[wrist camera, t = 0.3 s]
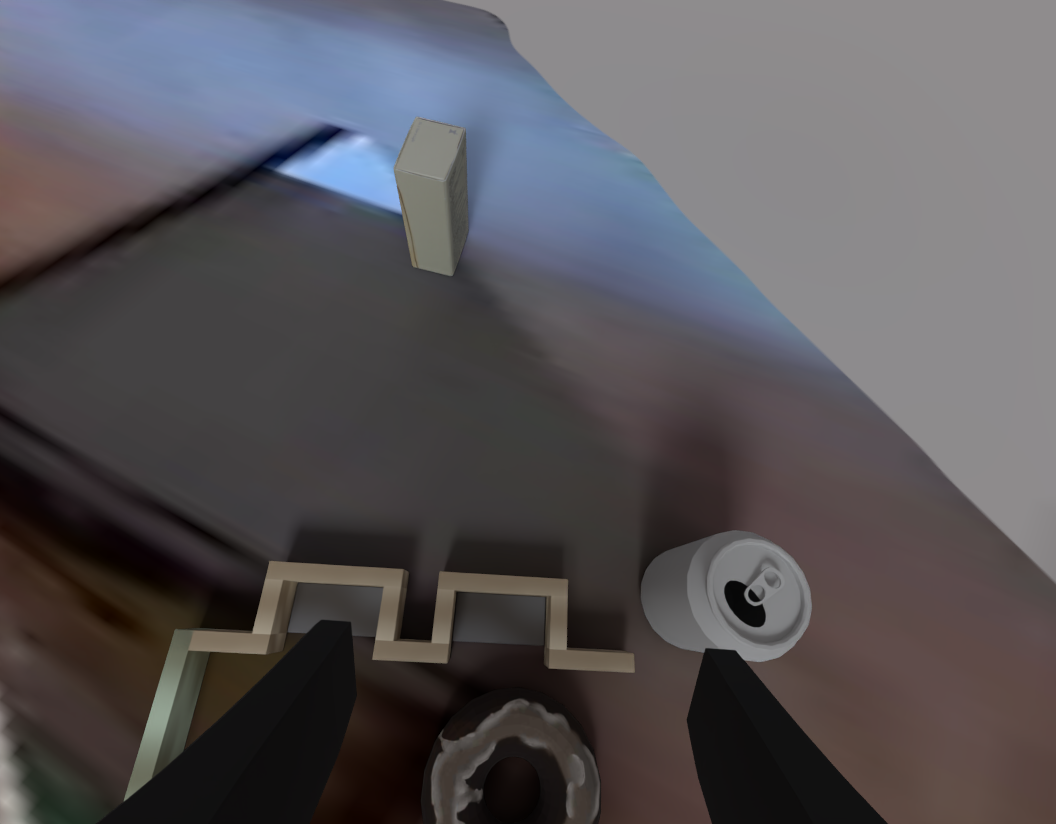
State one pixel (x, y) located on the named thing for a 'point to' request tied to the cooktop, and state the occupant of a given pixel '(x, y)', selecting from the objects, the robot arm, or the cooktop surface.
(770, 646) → the can
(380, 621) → the beige square zigzag bar
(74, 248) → the cooktop surface
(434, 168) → the skincare box
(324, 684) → the robot arm
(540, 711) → the donut
